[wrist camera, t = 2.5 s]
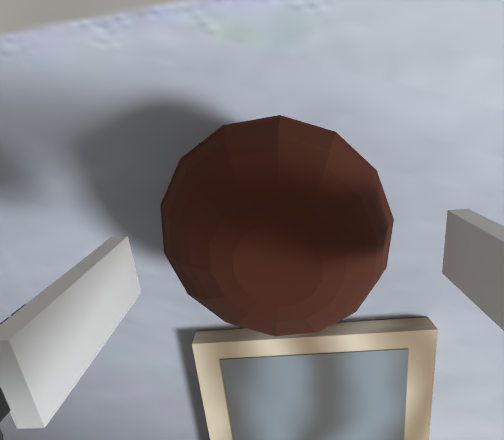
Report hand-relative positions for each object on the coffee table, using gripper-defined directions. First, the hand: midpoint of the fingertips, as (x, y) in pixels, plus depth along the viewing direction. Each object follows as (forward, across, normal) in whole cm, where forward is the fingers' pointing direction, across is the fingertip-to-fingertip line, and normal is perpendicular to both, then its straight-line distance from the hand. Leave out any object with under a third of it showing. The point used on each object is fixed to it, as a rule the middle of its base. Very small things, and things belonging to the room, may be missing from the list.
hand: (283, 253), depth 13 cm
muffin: (+10, 0, 0) cm, 10 cm away
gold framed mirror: (+9, -2, +19) cm, 21 cm away
